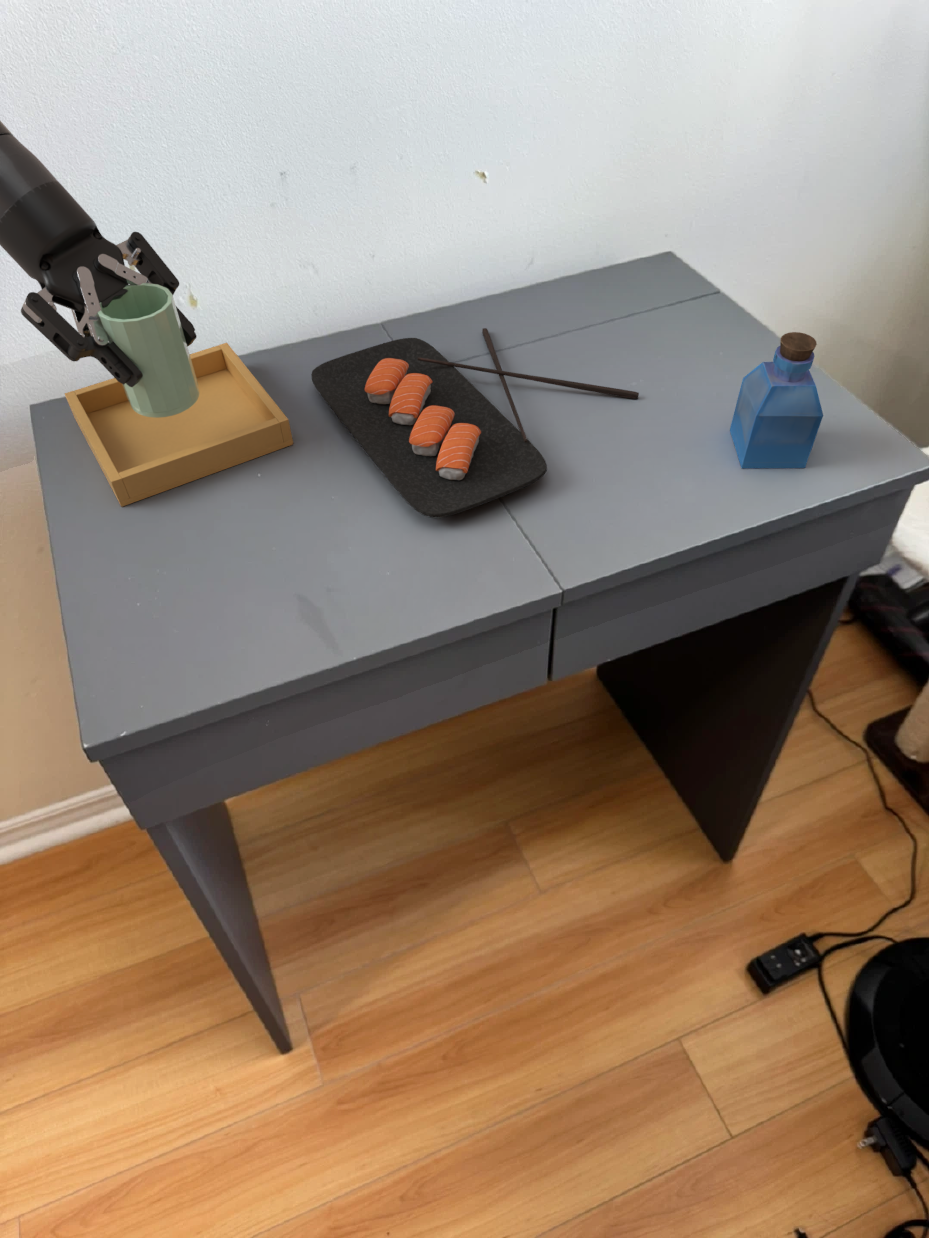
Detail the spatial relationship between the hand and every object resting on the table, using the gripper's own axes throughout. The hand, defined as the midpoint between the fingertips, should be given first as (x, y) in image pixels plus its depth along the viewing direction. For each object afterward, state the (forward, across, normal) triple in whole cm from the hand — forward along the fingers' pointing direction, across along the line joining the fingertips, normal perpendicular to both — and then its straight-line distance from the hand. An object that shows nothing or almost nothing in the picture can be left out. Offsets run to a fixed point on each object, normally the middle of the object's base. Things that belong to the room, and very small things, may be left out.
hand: (165, 361), depth 81 cm
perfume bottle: (+44, +27, -29) cm, 59 cm away
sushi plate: (+24, +20, -9) cm, 33 cm away
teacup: (+2, 0, +4) cm, 5 cm away
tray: (+5, +2, +10) cm, 11 cm away
